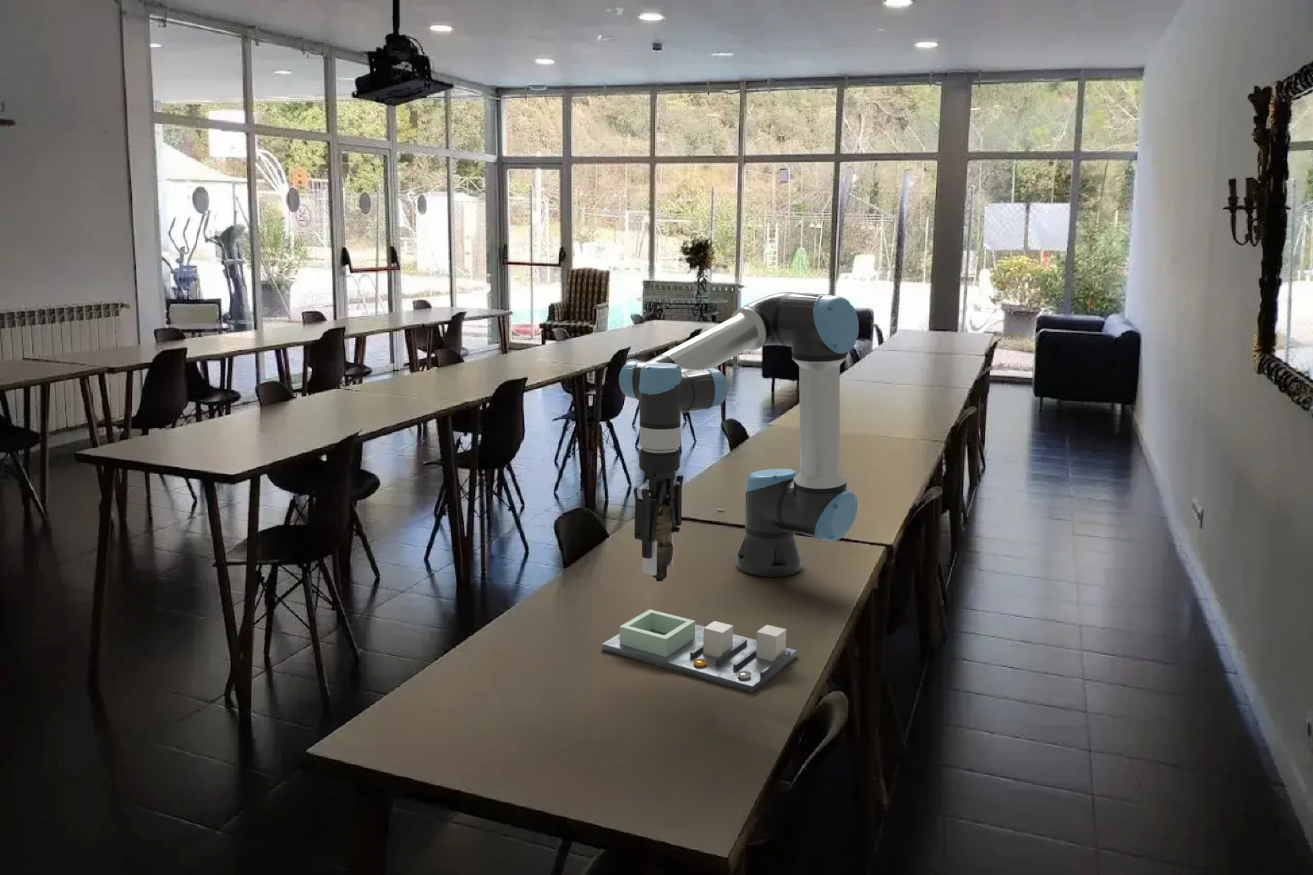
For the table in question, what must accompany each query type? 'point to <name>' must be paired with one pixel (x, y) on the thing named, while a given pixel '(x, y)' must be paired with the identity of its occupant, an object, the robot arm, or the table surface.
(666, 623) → the socket
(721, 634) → the block
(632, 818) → the table surface
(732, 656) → the panel
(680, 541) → the table surface
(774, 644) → the block
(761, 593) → the table surface
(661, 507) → the light bulb
